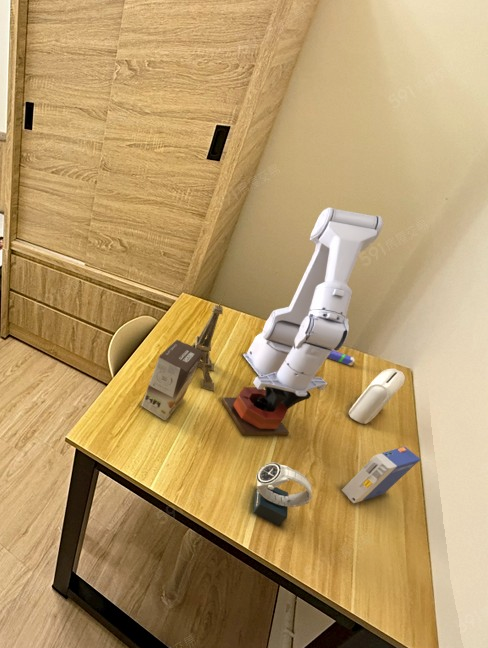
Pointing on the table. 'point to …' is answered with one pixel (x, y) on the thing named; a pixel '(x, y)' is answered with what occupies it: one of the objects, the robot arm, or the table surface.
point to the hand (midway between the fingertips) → (273, 408)
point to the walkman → (380, 474)
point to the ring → (255, 414)
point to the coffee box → (171, 378)
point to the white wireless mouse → (377, 395)
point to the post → (247, 427)
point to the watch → (278, 492)
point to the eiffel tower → (207, 347)
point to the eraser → (341, 358)
